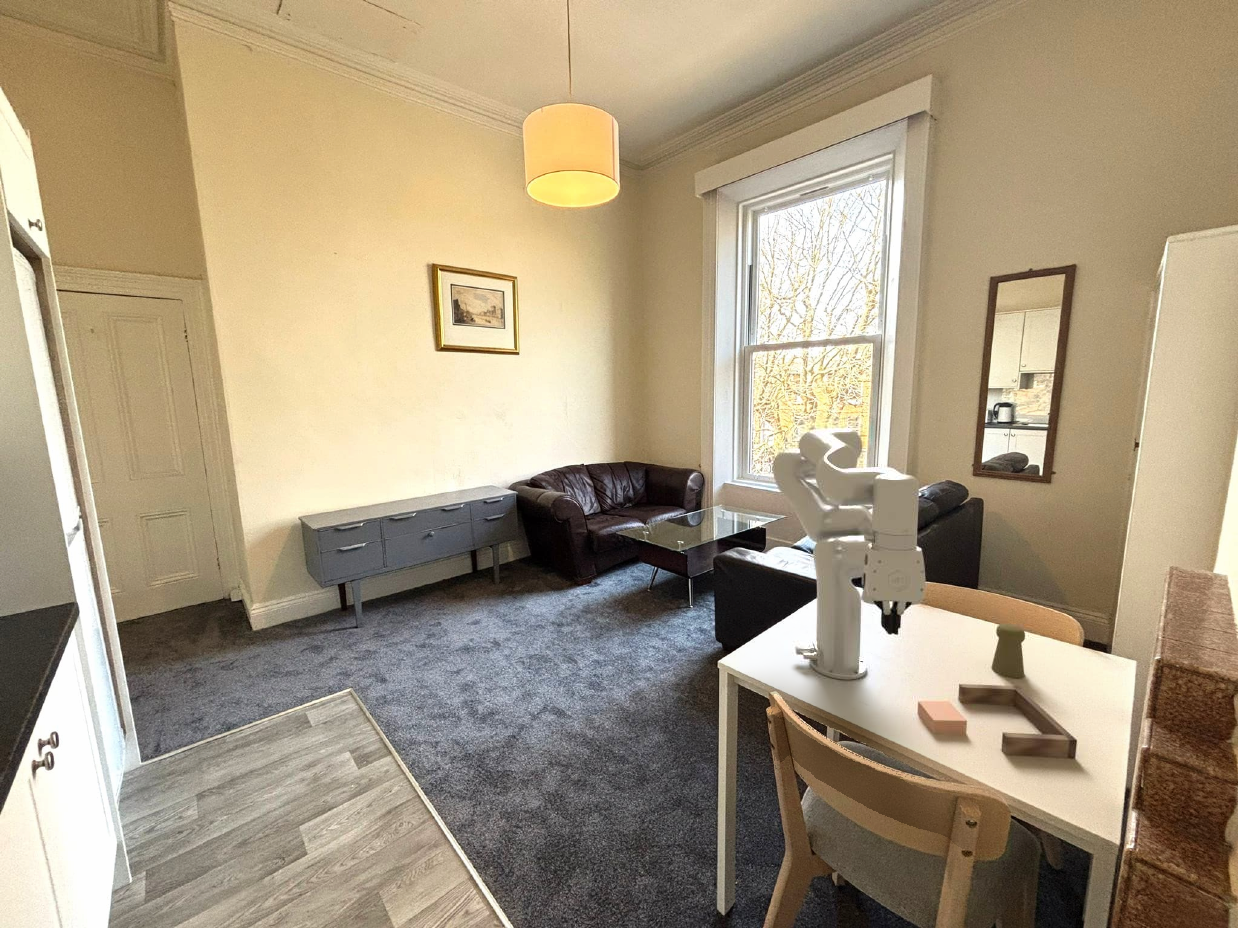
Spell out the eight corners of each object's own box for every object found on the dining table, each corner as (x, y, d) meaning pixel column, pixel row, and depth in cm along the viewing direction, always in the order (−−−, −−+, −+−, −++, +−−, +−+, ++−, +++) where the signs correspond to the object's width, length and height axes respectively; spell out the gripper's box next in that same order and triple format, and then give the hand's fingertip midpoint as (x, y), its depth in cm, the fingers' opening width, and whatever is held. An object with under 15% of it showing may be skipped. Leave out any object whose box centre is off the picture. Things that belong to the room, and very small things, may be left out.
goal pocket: (1005, 754, 91) (1006, 736, 91) (958, 699, 107) (959, 683, 107) (1075, 758, 90) (1077, 740, 89) (1016, 701, 106) (1018, 685, 105)
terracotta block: (932, 734, 98) (933, 720, 97) (917, 714, 103) (918, 700, 103) (966, 734, 97) (967, 720, 97) (948, 714, 103) (949, 701, 103)
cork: (1030, 679, 113) (1034, 633, 111) (999, 677, 114) (1002, 631, 113) (1015, 665, 119) (1018, 620, 117) (986, 663, 120) (989, 619, 118)
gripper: (858, 545, 94) (855, 639, 96) (946, 545, 91) (941, 641, 94) (846, 534, 101) (844, 621, 104) (927, 533, 99) (923, 623, 101)
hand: (890, 631), depth 99 cm, fingers closed
